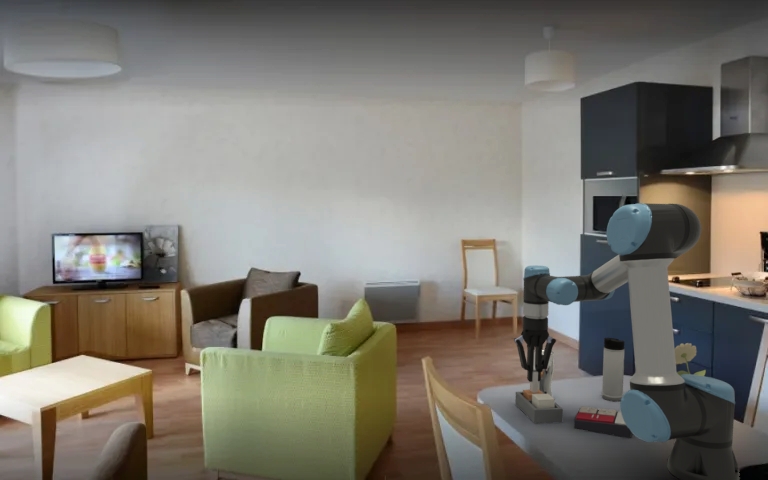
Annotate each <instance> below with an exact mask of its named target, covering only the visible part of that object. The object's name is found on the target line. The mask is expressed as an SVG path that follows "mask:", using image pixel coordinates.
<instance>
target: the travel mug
mask: <svg viewBox="0 0 768 480" xmlns="http://www.w3.org/2000/svg"><path fill="white" fill-rule="evenodd" d="M603 344H604V345H603V359H602V360H603V361H602V363H603V364H602V389H601V391H602V393H601V394H602V395H601V396H602V398H603V399H604V400H606V401H611V402H621V398H622V397H623V395H624V373H625V371H624V370H625V340H620V339H619V338H614V337H604V338H603Z"/></svg>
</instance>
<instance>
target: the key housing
mask: <svg viewBox="0 0 768 480" xmlns="http://www.w3.org/2000/svg"><path fill="white" fill-rule="evenodd" d="M541 392H542V393H543V394H545V393H544V392H543V391H541ZM514 396H515V397H514V398H515V400H514V401H515V406H517V408H519V410H520V409H521V410H522V411H523V412H524V413H525V414H526V415H527V416H528V417H529V418H530V419H531V420H530V419H529V418H528V417H527V418H528V419H529V420H530V422H532V423H533V424H534V423H536V424H554V423H553V422H559V423H563V421H564V418H563V416H564V408H563V407H561V406H560V405H559V404H558V403H557V402H555V408H543V409H536V408H535V407H534V406H533V405H532V400H527V399H526V398H525V397H524V396H523V391H515V395H514ZM523 412H522V413H523ZM524 413H523V414H524ZM525 414H524V415H525ZM526 415H525V416H526Z"/></svg>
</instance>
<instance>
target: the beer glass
mask: <svg viewBox="0 0 768 480" xmlns="http://www.w3.org/2000/svg"><path fill="white" fill-rule="evenodd" d="M544 350H545V349H543V350H542V357H543V354H544ZM554 352H555V351H551V355H550V359H549V363H548V366H547V369H543V370H542V372H541V380H540V381H538V389H539V390H540V391H543V392H544V393H545V394H549V395H550V396H552V397H553V393H552V383H553V382H552V381H553V377H554V371H555V353H554ZM534 369H535V350H534V368H533V370H534Z"/></svg>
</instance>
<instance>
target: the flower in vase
mask: <svg viewBox="0 0 768 480" xmlns="http://www.w3.org/2000/svg"><path fill="white" fill-rule="evenodd" d="M674 349H675V361H676V365H682V364H686V368H687V371H685V370H679V371H676V372H677V374H678V375H680V376H681V375H683V374H691V371H690V369H689V364H688V362H691V361H692V360H693V359H694V358H695V357H696V356H697V353H698V351H697V346H696V345H692V343H689V342H687V343H685V344H684V343H680V344H679V345H676V347H674ZM706 371H707V370H706V369H704V370H701V371H700V370H699V371H697V372H695V373H693V375H700V376H705V375H706Z"/></svg>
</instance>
